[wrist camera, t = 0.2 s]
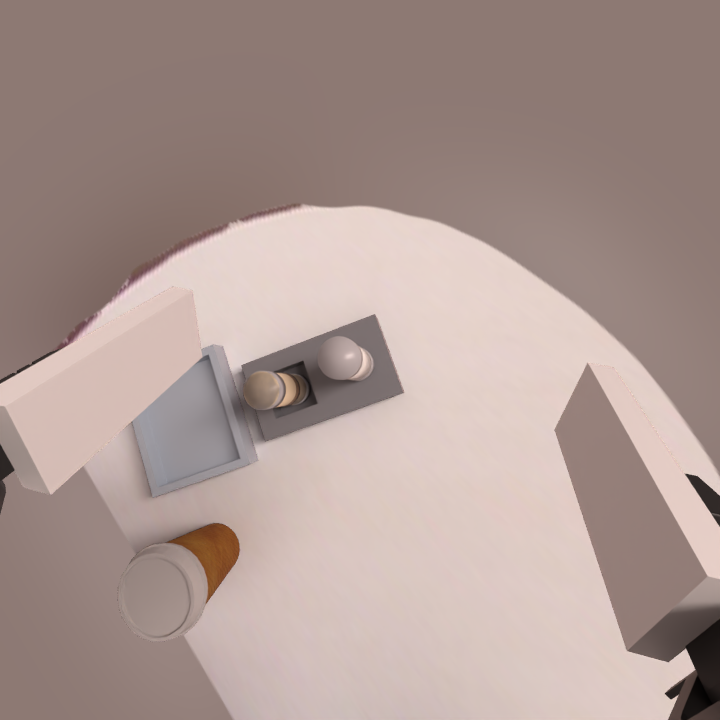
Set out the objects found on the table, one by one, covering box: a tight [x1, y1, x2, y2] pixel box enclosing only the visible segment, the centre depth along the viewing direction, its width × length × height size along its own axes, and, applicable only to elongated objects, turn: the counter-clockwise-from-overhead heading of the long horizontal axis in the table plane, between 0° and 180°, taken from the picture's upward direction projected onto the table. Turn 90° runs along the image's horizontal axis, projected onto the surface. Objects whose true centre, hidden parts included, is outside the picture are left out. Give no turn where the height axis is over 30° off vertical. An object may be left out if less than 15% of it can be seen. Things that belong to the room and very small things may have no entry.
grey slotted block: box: [241, 314, 404, 441], centre depth 43 cm, size 10×18×14 cm, turn 110°
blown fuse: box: [243, 371, 311, 410], centre depth 44 cm, size 4×4×11 cm
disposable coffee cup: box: [117, 523, 240, 642], centre depth 44 cm, size 10×10×12 cm
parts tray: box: [132, 345, 258, 498], centre depth 51 cm, size 16×14×2 cm
